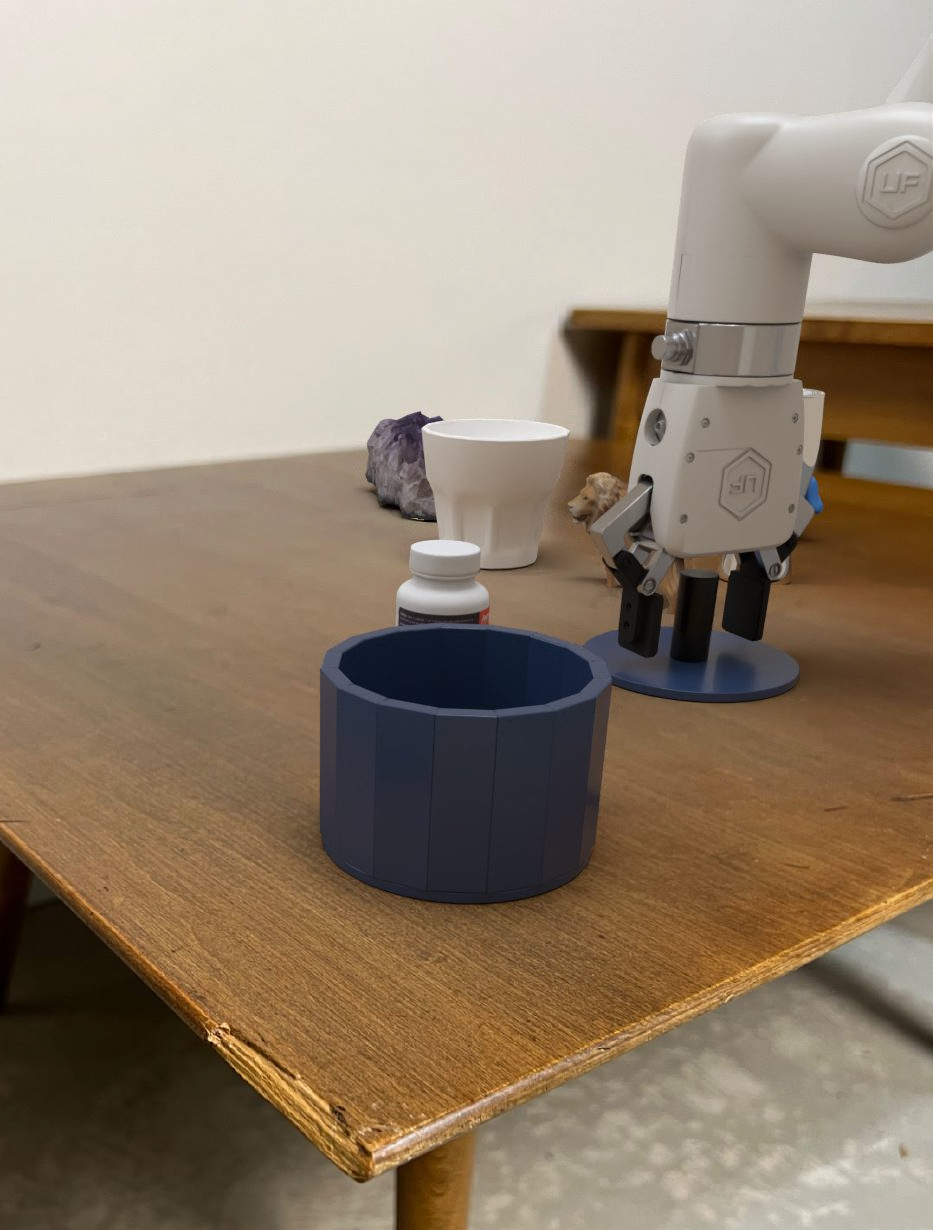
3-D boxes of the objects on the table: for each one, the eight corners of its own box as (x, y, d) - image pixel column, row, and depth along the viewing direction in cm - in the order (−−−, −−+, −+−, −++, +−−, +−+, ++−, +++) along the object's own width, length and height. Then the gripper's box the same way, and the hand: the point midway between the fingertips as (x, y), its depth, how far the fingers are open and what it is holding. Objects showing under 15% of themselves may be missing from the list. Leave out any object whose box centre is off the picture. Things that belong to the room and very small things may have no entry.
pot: (578, 787, 62) (593, 627, 59) (606, 911, 51) (628, 721, 47) (333, 776, 63) (335, 618, 60) (307, 896, 52) (307, 709, 48)
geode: (505, 522, 121) (499, 419, 116) (390, 539, 120) (380, 437, 116) (464, 476, 139) (457, 386, 134) (364, 491, 138) (354, 401, 134)
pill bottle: (493, 722, 71) (504, 557, 67) (403, 727, 70) (408, 559, 66) (470, 690, 75) (479, 535, 71) (385, 694, 75) (389, 537, 71)
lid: (768, 646, 84) (783, 551, 82) (822, 716, 72) (842, 606, 69) (571, 639, 85) (579, 544, 83) (591, 707, 73) (602, 598, 70)
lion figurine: (551, 583, 99) (561, 471, 96) (599, 575, 102) (610, 465, 98) (688, 628, 88) (705, 503, 84) (738, 617, 91) (756, 496, 87)
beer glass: (783, 592, 97) (815, 398, 91) (698, 579, 101) (723, 391, 95) (806, 575, 103) (837, 390, 97) (724, 563, 106) (750, 383, 100)
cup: (448, 536, 114) (454, 414, 110) (577, 551, 110) (588, 424, 105) (394, 564, 104) (398, 432, 100) (533, 582, 99) (544, 443, 95)
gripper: (649, 364, 64) (615, 679, 71) (888, 356, 71) (835, 643, 78) (567, 352, 70) (543, 643, 78) (794, 345, 77) (753, 613, 84)
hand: (690, 641), depth 78 cm, fingers open, 7 cm apart
